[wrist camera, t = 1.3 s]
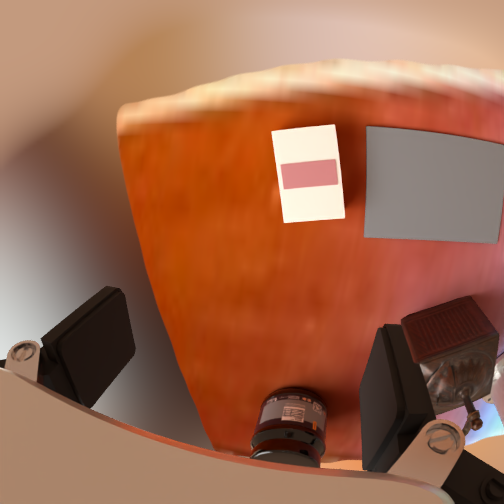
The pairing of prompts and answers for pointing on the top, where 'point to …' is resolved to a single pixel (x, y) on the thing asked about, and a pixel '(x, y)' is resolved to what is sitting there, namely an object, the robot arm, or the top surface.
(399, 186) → the mat
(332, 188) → the card box
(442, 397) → the vintage coffee grinder
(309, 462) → the supplement container
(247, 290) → the top surface
